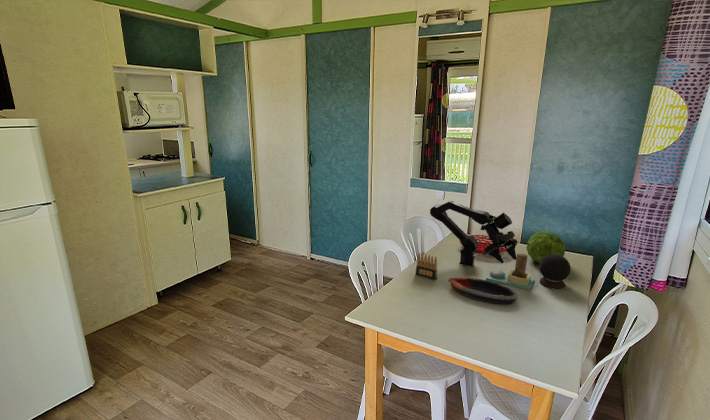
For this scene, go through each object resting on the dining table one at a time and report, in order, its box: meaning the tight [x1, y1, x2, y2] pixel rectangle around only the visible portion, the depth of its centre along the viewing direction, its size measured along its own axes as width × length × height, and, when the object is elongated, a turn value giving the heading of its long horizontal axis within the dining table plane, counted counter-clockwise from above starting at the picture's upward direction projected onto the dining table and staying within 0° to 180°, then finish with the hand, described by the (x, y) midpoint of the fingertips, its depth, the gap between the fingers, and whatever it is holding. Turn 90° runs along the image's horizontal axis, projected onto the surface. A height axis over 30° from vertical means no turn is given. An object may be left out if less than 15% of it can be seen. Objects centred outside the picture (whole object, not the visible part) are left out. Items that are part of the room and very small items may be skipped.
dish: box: [447, 276, 519, 304], centre depth 168 cm, size 16×31×5 cm, turn 55°
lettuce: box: [526, 230, 566, 265], centre depth 204 cm, size 19×23×18 cm
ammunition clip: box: [415, 252, 438, 281], centre depth 185 cm, size 11×2×12 cm, turn 55°
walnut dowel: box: [514, 253, 528, 278], centre depth 179 cm, size 5×5×13 cm
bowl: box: [459, 234, 507, 255], centre depth 222 cm, size 29×30×5 cm
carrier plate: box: [485, 269, 535, 291], centre depth 183 cm, size 20×12×4 cm, turn 57°
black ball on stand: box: [538, 254, 572, 290], centre depth 178 cm, size 13×13×15 cm
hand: (509, 261), depth 184 cm, fingers open, 9 cm apart
